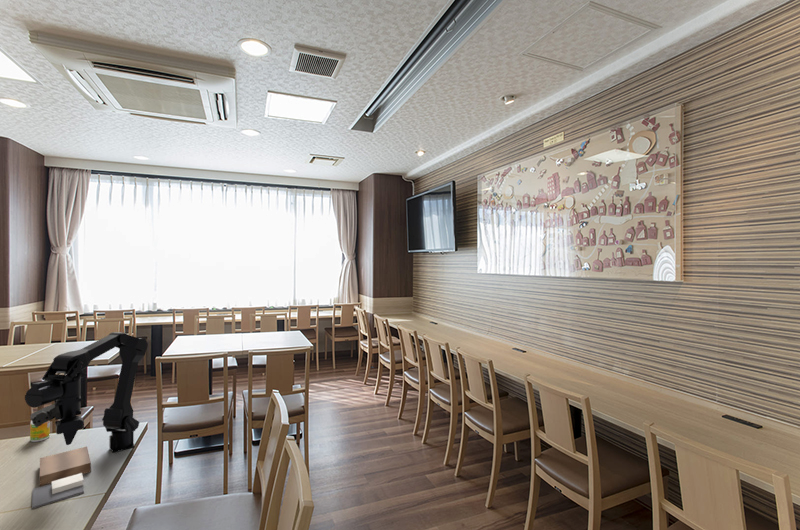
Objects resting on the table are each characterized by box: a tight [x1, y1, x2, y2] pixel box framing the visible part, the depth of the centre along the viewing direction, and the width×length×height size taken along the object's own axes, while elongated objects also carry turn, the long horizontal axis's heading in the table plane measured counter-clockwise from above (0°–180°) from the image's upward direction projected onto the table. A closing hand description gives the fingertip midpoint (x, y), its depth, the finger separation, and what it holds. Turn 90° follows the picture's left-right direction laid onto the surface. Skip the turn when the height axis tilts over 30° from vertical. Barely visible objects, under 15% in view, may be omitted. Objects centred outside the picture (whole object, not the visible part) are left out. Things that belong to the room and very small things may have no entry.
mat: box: [31, 483, 85, 510], centre depth 113 cm, size 11×11×1 cm
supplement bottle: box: [29, 420, 51, 443], centre depth 144 cm, size 5×5×10 cm
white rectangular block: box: [51, 473, 84, 494], centre depth 115 cm, size 7×5×2 cm
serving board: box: [39, 446, 92, 487], centre depth 124 cm, size 12×14×3 cm
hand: (68, 444), depth 119 cm, fingers closed
